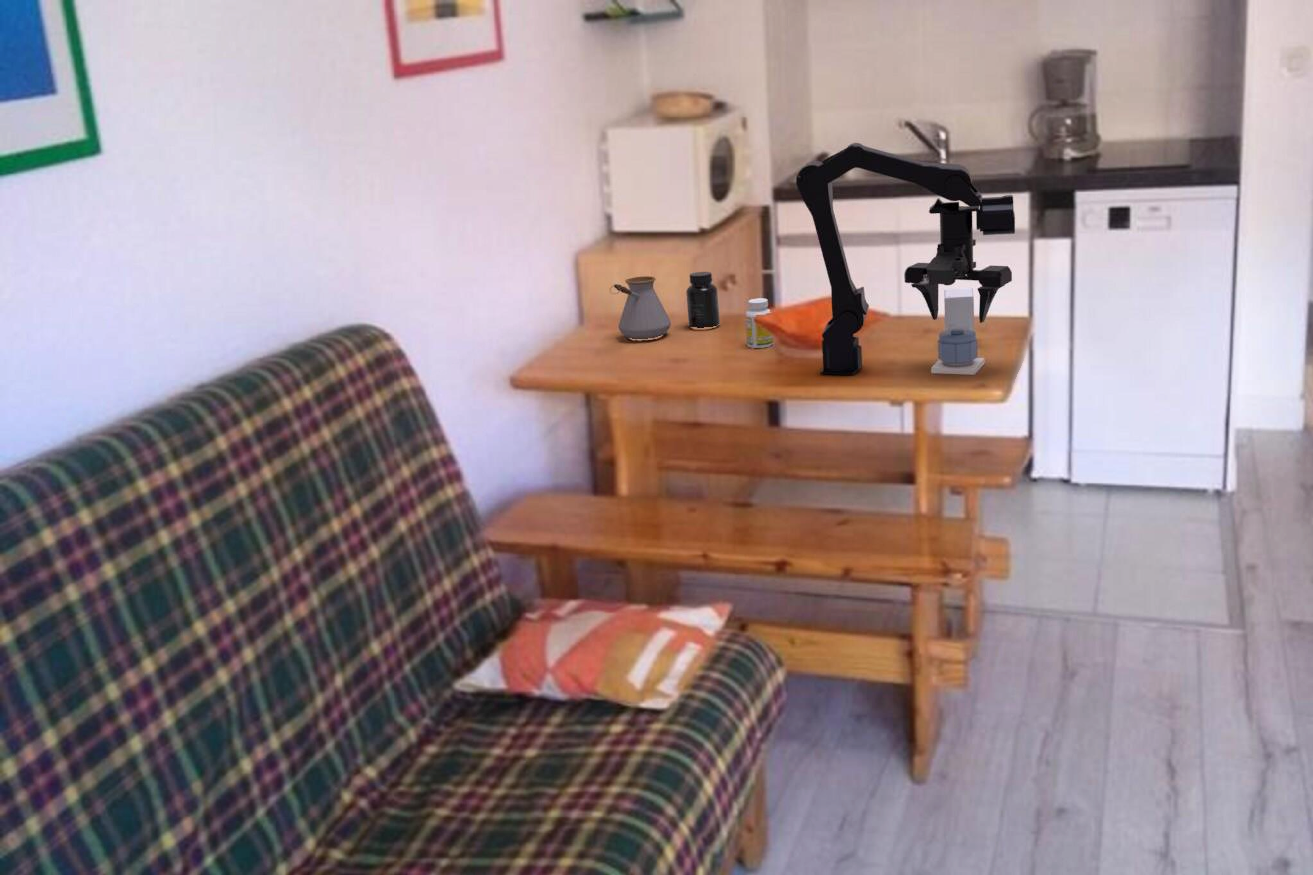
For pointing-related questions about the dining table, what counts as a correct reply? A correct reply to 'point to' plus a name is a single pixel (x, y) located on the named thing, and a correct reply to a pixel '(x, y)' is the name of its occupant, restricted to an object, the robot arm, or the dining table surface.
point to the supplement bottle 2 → (754, 332)
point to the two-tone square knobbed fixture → (958, 367)
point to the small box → (959, 309)
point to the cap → (957, 346)
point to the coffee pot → (642, 310)
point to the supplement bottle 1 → (702, 301)
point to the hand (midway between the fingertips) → (958, 320)
